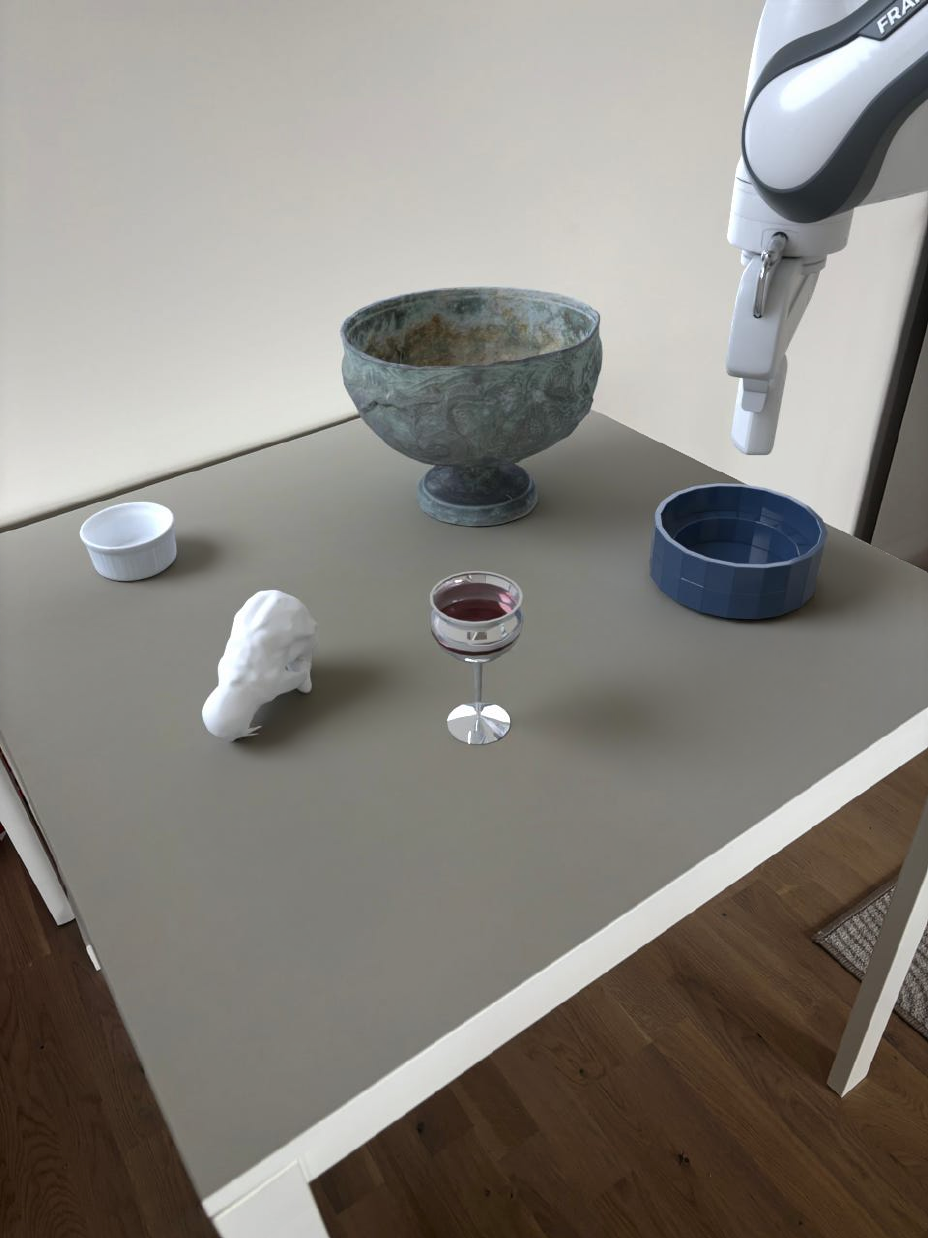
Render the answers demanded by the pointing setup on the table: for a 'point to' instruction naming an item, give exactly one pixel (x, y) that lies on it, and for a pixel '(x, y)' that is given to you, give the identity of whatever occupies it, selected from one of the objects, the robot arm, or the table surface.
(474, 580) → the wineglass
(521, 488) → the decorative bowl
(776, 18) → the robot arm
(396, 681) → the table surface
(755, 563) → the blue bowl
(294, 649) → the white lumpy figure
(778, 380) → the eye dropper bottle
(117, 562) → the ramekin
